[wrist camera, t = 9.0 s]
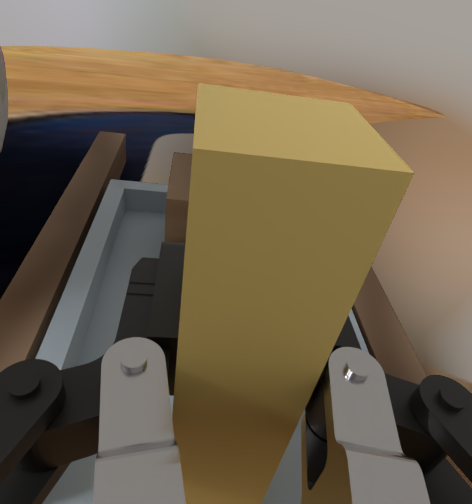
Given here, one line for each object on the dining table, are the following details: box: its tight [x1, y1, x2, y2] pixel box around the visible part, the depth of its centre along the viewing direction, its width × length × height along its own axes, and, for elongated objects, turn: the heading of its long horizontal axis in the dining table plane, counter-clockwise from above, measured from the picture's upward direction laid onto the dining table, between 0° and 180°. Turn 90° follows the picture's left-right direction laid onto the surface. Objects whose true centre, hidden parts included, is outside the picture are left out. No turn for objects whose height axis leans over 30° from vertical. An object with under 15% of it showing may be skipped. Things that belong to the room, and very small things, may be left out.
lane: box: [0, 131, 427, 385], centre depth 24 cm, size 18×24×2 cm
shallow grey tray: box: [35, 83, 414, 504], centre depth 16 cm, size 13×18×13 cm
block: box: [165, 152, 192, 243], centre depth 21 cm, size 5×5×5 cm
